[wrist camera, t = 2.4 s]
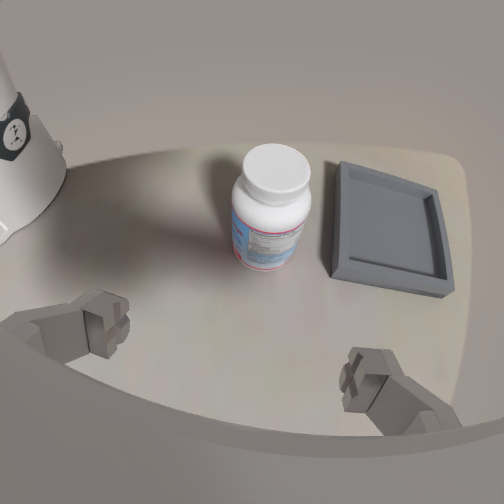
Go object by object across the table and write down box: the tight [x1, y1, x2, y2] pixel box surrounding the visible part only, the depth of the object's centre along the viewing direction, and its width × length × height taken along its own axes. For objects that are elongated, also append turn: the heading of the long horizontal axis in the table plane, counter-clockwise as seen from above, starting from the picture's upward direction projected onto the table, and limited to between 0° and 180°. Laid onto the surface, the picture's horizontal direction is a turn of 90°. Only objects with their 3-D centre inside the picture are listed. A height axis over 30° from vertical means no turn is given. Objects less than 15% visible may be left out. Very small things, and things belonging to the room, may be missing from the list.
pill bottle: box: [232, 144, 311, 271], centre depth 23 cm, size 6×6×11 cm
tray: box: [330, 161, 455, 298], centre depth 28 cm, size 14×14×2 cm
